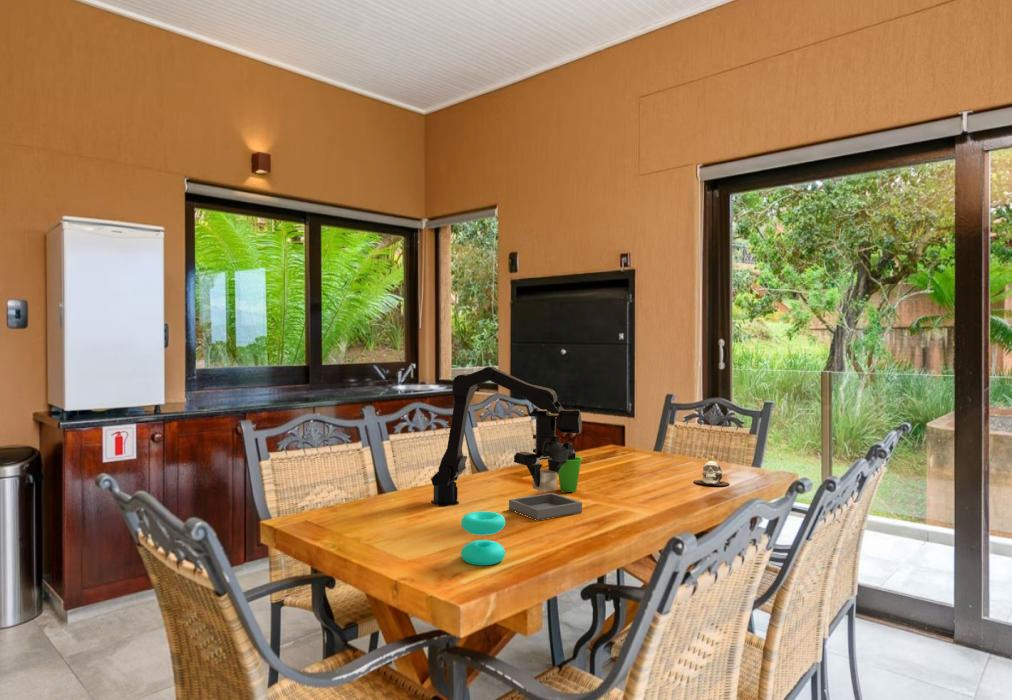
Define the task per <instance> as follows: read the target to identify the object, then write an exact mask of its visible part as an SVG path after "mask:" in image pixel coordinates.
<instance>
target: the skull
mask: <svg viewBox="0 0 1012 700" xmlns="http://www.w3.org/2000/svg"><path fill="white" fill-rule="evenodd" d="M701 475H702V476H703V478H702V479H695V480H693V482H694V483H697V484H702V485H707V486H728V485H730V482H727V481H721V480H722V479H723V468H722V467H721V465H720V464H719V463H717V461H710V460H709V461H706V462H705V464H704V465H703V468H702V474H701Z"/></svg>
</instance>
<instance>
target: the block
mask: <svg viewBox="0 0 1012 700" xmlns="http://www.w3.org/2000/svg"><path fill="white" fill-rule="evenodd" d="M532 489H534V490H537V491H539V492H543V493H544V492H545V493H546V492H551V491H556V490H558V475H557V472H554V471H550V470H549V469H540V485H539V487H537V486H536V485H535V482H534V480H533V479H532Z"/></svg>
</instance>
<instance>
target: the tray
mask: <svg viewBox="0 0 1012 700" xmlns="http://www.w3.org/2000/svg"><path fill="white" fill-rule="evenodd" d="M509 509H510V510H513V511H516V512H518V513H521V514H523V515H526V516H528V517H531V518H533V519H536V520H541V521H543V520H542V519H546V520H548V519H547V518H552V517H557V518H559V517H558V516H562V517H565V516H564V515H568V516H571V515H570V514H573V515H576V514H575V513H578V514H582V513H583V502H582V501H579V500H575V499H573V498H569V497H566V496H563V495H560V494H557V493H553V492H548V493H543V494H537V495H528V496H524V497H518V498H511V499H508V510H509ZM510 510H509V511H510ZM513 511H512V512H513ZM581 512H582V513H581ZM518 513H517V514H518ZM521 514H520V515H521ZM523 515H522V516H523ZM526 516H525V517H526ZM528 517H527V518H528ZM531 518H530V519H531ZM533 519H532V520H533ZM552 519H553V518H552ZM536 520H535V521H536Z"/></svg>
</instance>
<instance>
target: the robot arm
mask: <svg viewBox="0 0 1012 700" xmlns="http://www.w3.org/2000/svg"><path fill="white" fill-rule="evenodd" d="M487 382H491V383H494V384H496V385H498V386H500V387H501V388H505V389H506V390H509V391H511V392H512V393H515V394H518V395H520V396H522V397H523V398H525V399H526V400H527V401H528V402H529V403H531V404H532V405H533V406H535V407H534V408H533V410H532V411H531V412H530V413H528V416H529V417H535V434H533V435H532V439H535V448H533V449H532V452H528V451H521V452H520V451H519V452H515V454H514V456H513V463H516V464H519V465H522V466H526V467H527V469H528V471H529V473H530V475H531V478H532V481H533V480H534V482H535V485H536V486H537V487H539V485H540V470H542V467H543V463H541V462H540V461H542V460H547V466H548V470H550V471H554V472H557V476H558V472H559V470H560V467H561V466H562V465H563V464H564V463H567V461H566V460H573V459H576V455H577V454H576V451H575V449H574V445H573V443H572V442H570V441H569V442H565V443H560V440H559V439H560V438H559V436H558V435H556V429H557V430H558V431H559V432H560V433H561V434H577V435H579V434H581V433H582V430H583V420H582V415H581V410H580V409H564V407H563V406H562V404H561V403H560V402H559V401H558V395H557V392H556V391H555V390H554V389H552V388H548V387H545V386H543V385H542V386H540V385H535V384H531V383H529V382H526V381H524V380H522V379H519V378H517V377H516V376H513V375H512V374H509V373H506V372H504V371H502V370H499V369H498V368H497V367H495V366H486V367H484V368H483V369H480V370H478V371H475V372H472V373H463V374H459V375H456V376H455V377H454V378H453V380H452V382H451V383H452V384H451V387H452V388H451V390H452V393H451V394H452V398H453V409H452V414H451V415H452V417H451V421H450V429H449V435H448V439H447V445H446V446H447V447H446V449H445V452H444V453H443V456H442V458H441V459H440V460H441V461H440V463H439V466H438V471H437V472H436V473H435V474H434V475H433V476H432V477H431V478H430V481H431V484H432V486H433V499H431V500H430V502H431V504H435V505H436V506H439V507H446V506H452V505H457V504H460V502H459V501H458V495H459V494H458V489H459V488H458V486H457V482H456V481H457V480H458V478H459V476H460V475H462V473H463V472H464V470H466V468H467V467H466V462H467V459H468V456H467V455H464V454H463V446H464V445H463V443H464V439H465V431H466V426H467V419H468V412H469V406H470V404H471V402H472V400H473V398H474V396H475V392H476V390H477V387H478V386H481V385H483V384H485V383H487Z"/></svg>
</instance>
